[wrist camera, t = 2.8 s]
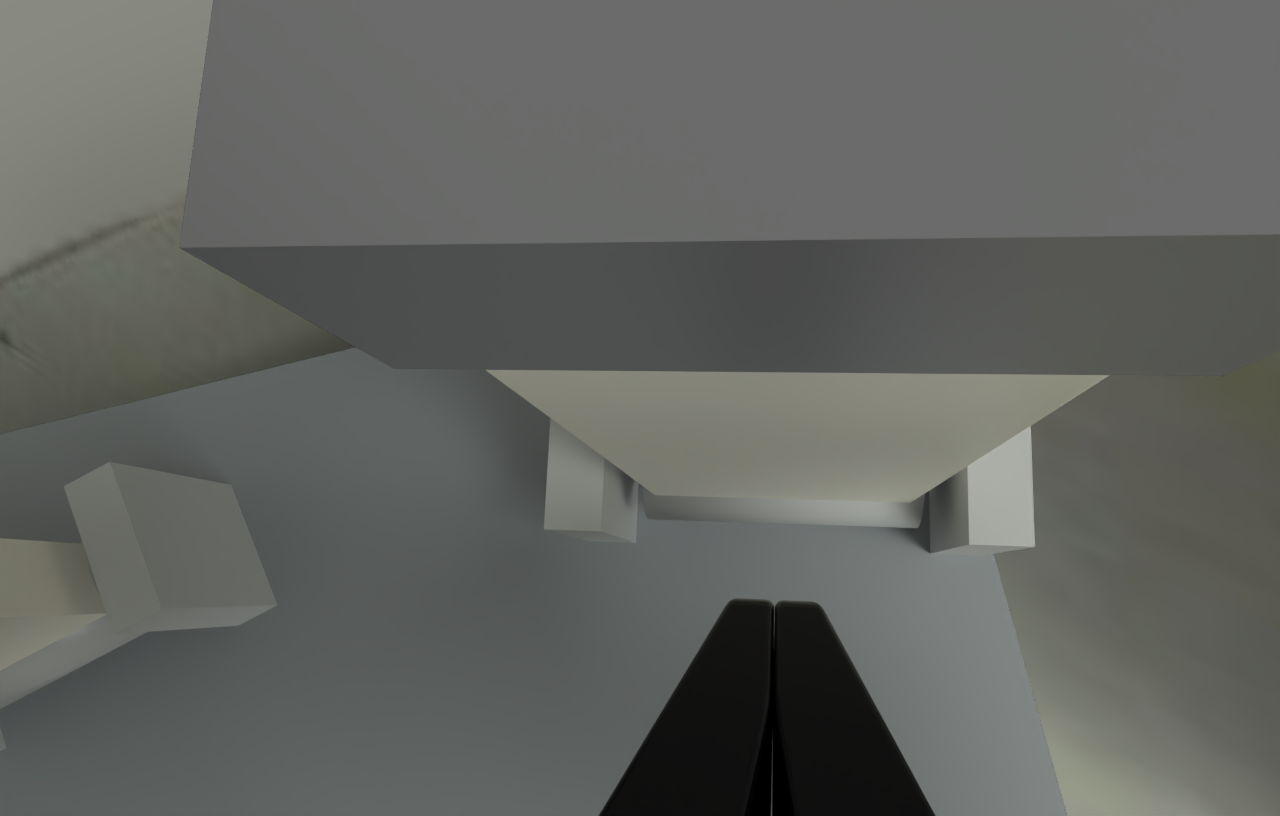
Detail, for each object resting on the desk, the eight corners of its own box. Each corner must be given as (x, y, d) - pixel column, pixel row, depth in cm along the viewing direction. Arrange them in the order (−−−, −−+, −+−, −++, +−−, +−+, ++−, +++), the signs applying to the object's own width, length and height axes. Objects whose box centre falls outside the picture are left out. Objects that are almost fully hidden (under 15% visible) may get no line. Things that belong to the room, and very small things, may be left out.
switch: (909, 531, 15) (1533, 267, 3) (655, 523, 15) (174, 275, 3) (908, 417, 15) (1459, -297, 3) (660, 414, 16) (240, -193, 3)
